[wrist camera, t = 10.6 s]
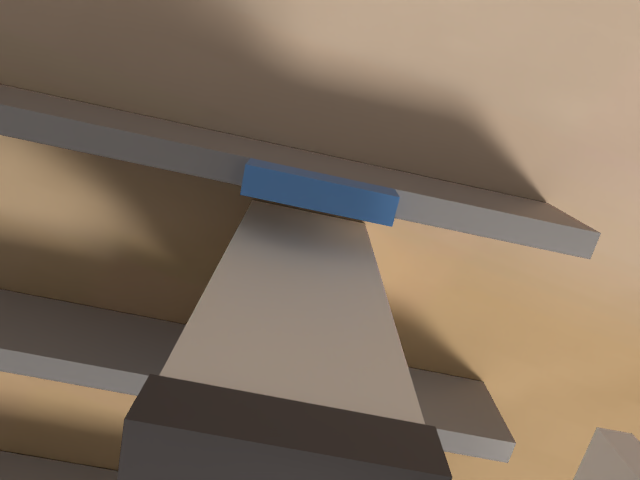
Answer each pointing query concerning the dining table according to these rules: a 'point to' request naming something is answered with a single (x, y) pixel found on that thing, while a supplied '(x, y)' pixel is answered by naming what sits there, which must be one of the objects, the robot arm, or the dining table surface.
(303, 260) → the block
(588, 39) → the dining table surface
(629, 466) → the robot arm
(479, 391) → the grey upright slats
